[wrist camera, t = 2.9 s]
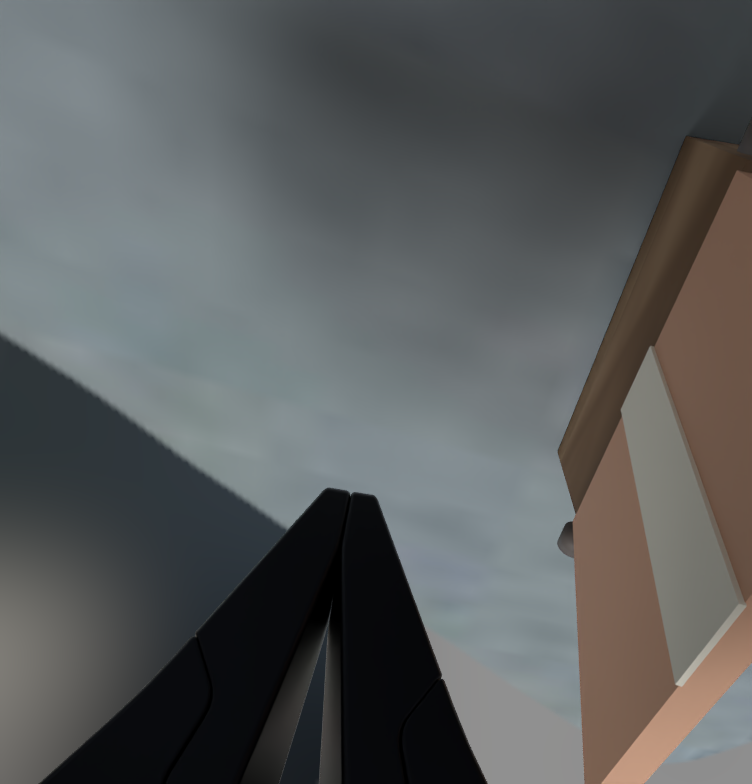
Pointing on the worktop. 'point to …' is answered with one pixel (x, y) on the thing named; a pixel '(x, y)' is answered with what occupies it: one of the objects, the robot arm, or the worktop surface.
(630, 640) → the lid
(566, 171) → the worktop surface
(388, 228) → the worktop surface
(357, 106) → the worktop surface
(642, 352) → the walnut box
